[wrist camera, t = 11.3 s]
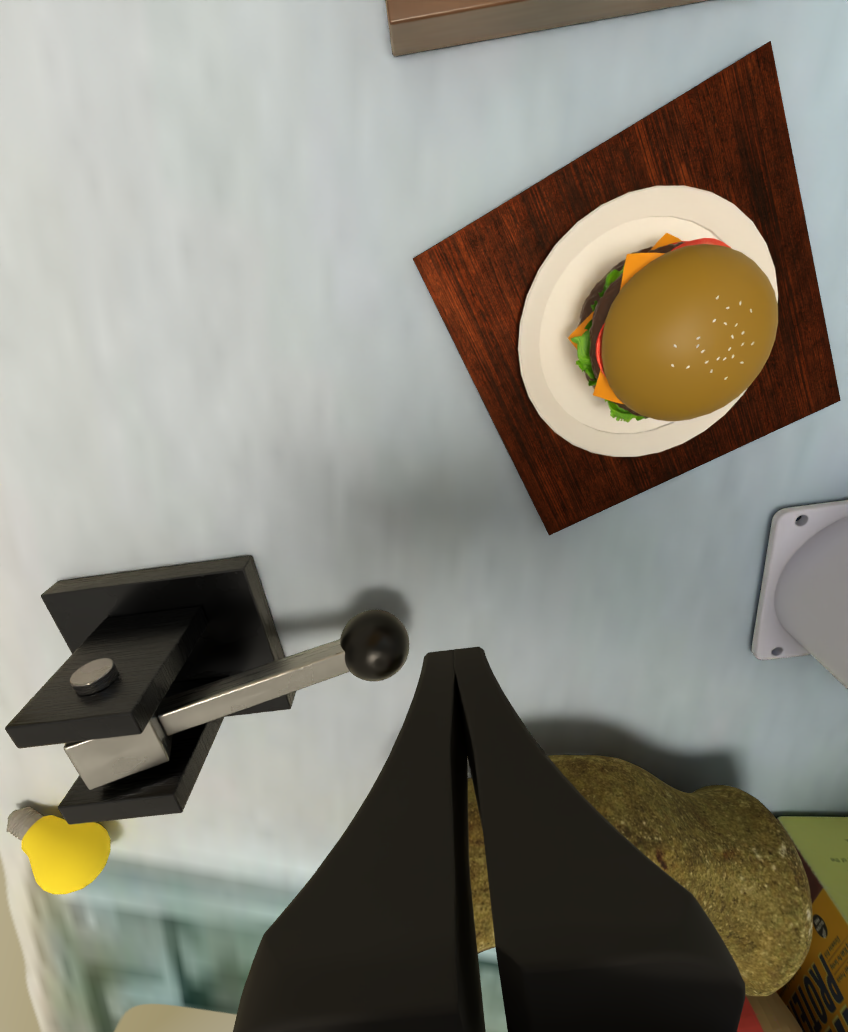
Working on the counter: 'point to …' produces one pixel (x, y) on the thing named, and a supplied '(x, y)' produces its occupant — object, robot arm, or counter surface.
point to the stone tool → (693, 861)
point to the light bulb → (60, 849)
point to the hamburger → (644, 300)
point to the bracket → (147, 671)
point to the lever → (246, 695)
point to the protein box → (822, 925)
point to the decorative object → (766, 1015)
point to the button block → (496, 18)
